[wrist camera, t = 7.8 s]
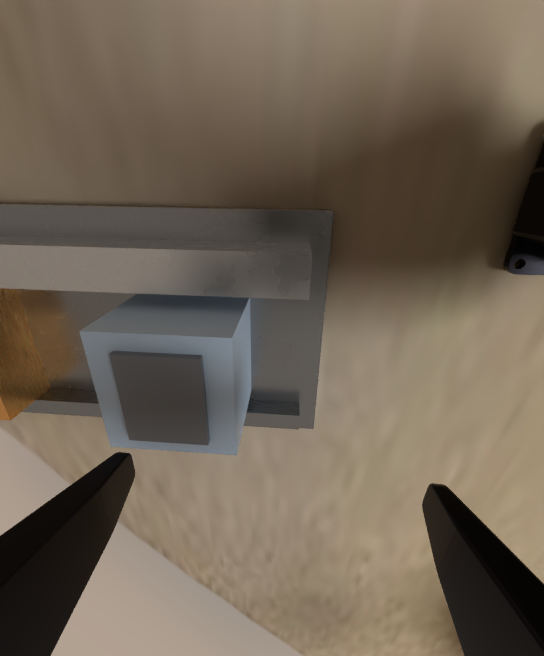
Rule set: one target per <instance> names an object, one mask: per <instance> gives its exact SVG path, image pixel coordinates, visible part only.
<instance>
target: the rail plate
mask: <svg viewBox="0 0 544 656" xmlns="http://www.w3.org/2000/svg"><path fill="white" fill-rule="evenodd" d="M333 213H334V211H332V210H307V209H258V208H209V207H161V206H112V205H63V204H15V203H0V420H12V419H13V418H14V417H15V416H17V415H18V414H19V413H20V412H32V413H48V414H64V415H80V416H96V417H102V413H101V409H100V405H99V402H98V398H97V394H96V391H95V387H94V383H93V380H92V376H91V372H90V369H89V365H88V361H87V358H86V354H85V350H84V347H83V343H82V339H81V336H80V332H79V331H80V330H82V329H83V328H85V327H86V326H88V325H89V324H91V323H93V322H94V321H96V320H97V319H99V318H100V317H102V316H103V315H105V314H106V313H108V312H110V311H111V310H113V309H114V308H116V307H117V306H119V305H120V304H122V303H124V302H125V301H127V300H128V299H130V298H131V297H133V296H134V295H136V294H164V295H190V296H216V297H243V298H250V326H251V394H250V399H249V403H248V408H247V412H246V417H245V421H244V426H255V427H271V428H287V429H299V428H308V429H313V428H314V417H315V406H316V395H317V385H318V374H319V363H320V353H321V342H322V331H323V320H324V310H325V299H326V288H327V277H328V267H329V256H330V245H331V235H332V224H333Z"/></svg>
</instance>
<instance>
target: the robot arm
mask: <svg viewBox="0 0 544 656" xmlns="http://www.w3.org/2000/svg"><path fill="white" fill-rule="evenodd" d="M513 231H514V234H513V237H512V240H511V243H510V246H509V249H508V252H507V255H506V258H505V261H504V269H505V270H506V271H507V272H510V273H513V274H523V275H544V143H543V146H542V149H541V152H540V155H539V158H538V161H537V164H536V167H535V170H534V172H533V173H532V174H531V177H530V180H529V183H528V186H527V189H526V192H525V195H524V198H523V201H522V204H521V207H520V210H519V213H518V216H517V219H516V222H515V225H514V229H513ZM519 259H520V263H519V265H518V266H516V267H514V264H515V262H516V261H517V260H519ZM134 477H135V469H134V464H133V460H132V456H131V454H129V453H122V452H118V453H115V454H114V455H112V456H111V457H109V458H108V459H107V460H105V461H104V462H102V463H101V464H100V465H98V466H97V467H95V468H94V469H93V470H91V471H90V472H88V473H87V474H86V475H84V476H83V477H82V478H80V479H79V480H77V481H76V482H75V483H73V484H72V485H70V486H69V487H68V488H66V489H65V490H64V491H62V492H61V493H59V494H58V495H56V496H55V497H54V498H52V499H51V500H50V501H48V502H47V503H45V504H44V505H43V506H41V507H40V508H38V509H37V510H36V511H34V512H33V513H31V514H30V515H29V516H27V517H26V518H25V519H23V520H22V521H20V522H19V523H18V524H16V525H15V526H13V527H12V528H11V529H9V530H8V531H6V532H5V533H4V534H3V535H1V536H0V656H51V654H52V652H53V650H54V648H55V646H56V644H57V642H58V640H59V638H60V636H61V634H62V632H63V630H64V628H65V626H66V624H67V622H68V620H69V618H70V616H71V614H72V612H73V610H74V608H75V606H76V604H77V602H78V600H79V598H80V596H81V594H82V592H83V590H84V589H85V587H86V585H87V583H88V581H89V579H90V576H91V575H92V572H93V571H94V569H95V567H96V565H97V563H98V561H99V559H100V557H101V555H102V553H103V551H104V549H105V547H106V545H107V543H108V541H109V539H110V537H111V535H112V533H113V531H114V528H115V526H116V524H117V521H118V519H119V516H120V513H121V511H122V508H123V506H124V503H125V501H126V498H127V496H128V493H129V491H130V488H131V486H132V483H133V481H134ZM422 507H423V513H424V518H425V522H426V526H427V531H428V535H429V540H430V544H431V548H432V553H433V557H434V561H435V565H436V569H437V573H438V576H439V579H440V583H441V586H442V589H443V592H444V595H445V598H446V601H447V604H448V607H449V610H450V613H451V616H452V619H453V622H454V625H455V628H456V632H457V635H458V638H459V641H460V644H461V647H462V650H463V653H464V656H544V584H543V583H542V582H541V581H540V580H539V579H538V578H537V577H536V576H535V575H534V574H533V573H532V572H531V571H530V570H529V569H528V568H527V567H526V566H525V564H524V563H523V562H522V561H521V560H520V559H519V558H518V557H517V556H516V555H515V554H514V553H513V552H512V551H511V550H510V549H509V548H508V547H507V546H506V545H505V544H504V543H503V542H502V541H501V540H500V539H499V538H498V537H497V536H496V535H495V534H494V533H493V532H492V531H491V530H490V529H489V528H488V527H487V526H486V525H485V524H484V523H483V522H482V521H481V520H480V519H479V518H478V517H477V516H476V515H475V514H474V513H473V512H472V511H471V510H470V509H469V508H468V507H467V506H466V505H465V504H464V503H463V502H462V501H461V500H460V499H459V498H458V497H457V496H456V495H455V494H454V493H453V492H452V491H451V490H450V489H449V488H448V487H447V486H445V485H443V484H433V483H432V484H430V485H429V486H428V488H427V491H426V494H425V497H424V499H423V504H422Z"/></svg>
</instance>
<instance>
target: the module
mask: <svg viewBox="0 0 544 656" xmlns="http://www.w3.org/2000/svg"><path fill="white" fill-rule="evenodd" d="M79 332H80V336H81V339H82V343H83V347H84V350H85V354H86V358H87V361H88V365H89V369H90V372H91V376H92V380H93V383H94V387H95V391H96V394H97V398H98V402H99V405H100V409H101V413H102V417H103V420H104V424H105V428H106V431H107V435H108V439H109V442H110V446H111V447H123V448H138V449H152V450H167V451H181V452H196V453H210V454H225V455H237V453H238V448H239V444H240V439H241V435H242V430H243V426H244V421H245V417H246V412H247V408H248V403H249V399H250V394H251V326H250V298H243V297H216V296H190V295H164V294H136V295H134V296H133V297H131V298H130V299H128V300H127V301H125V302H124V303H122V304H120V305H119V306H117V307H116V308H114V309H113V310H111V311H110V312H108V313H106V314H105V315H103V316H102V317H100V318H99V319H97V320H96V321H94V322H93V323H91V324H89V325H88V326H86V327H85V328H83V329H82V330H80V331H79Z"/></svg>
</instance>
